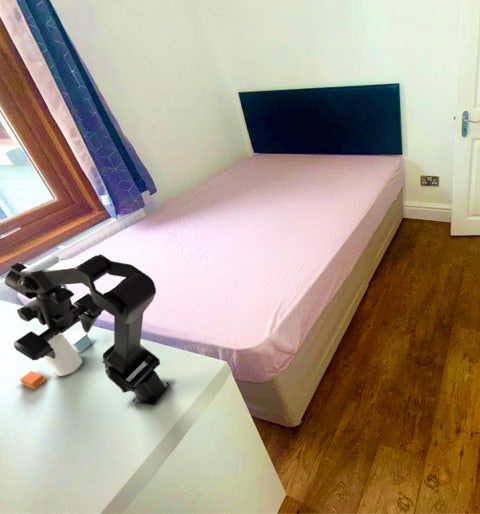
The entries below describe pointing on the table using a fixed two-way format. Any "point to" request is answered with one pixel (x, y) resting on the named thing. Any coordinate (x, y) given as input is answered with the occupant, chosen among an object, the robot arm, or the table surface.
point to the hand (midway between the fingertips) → (70, 344)
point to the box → (79, 341)
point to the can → (63, 356)
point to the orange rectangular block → (33, 379)
